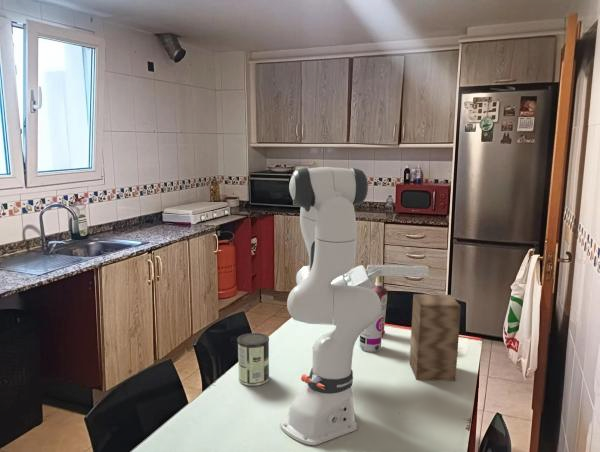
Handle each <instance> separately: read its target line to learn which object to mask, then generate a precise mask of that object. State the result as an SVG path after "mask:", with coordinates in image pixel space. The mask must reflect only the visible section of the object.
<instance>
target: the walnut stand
mask: <svg viewBox="0 0 600 452" xmlns="http://www.w3.org/2000/svg"><path fill="white" fill-rule="evenodd" d="M412 295H413V298H412V310H411V311H412V313H411V315H412V316H411V317H412V318H411V328H410V329H411V330H410V332H411V333H410V346H409V347H410V351H409V366H410V368H411V370H412V374H413V376H414V377H415V380H418V381H445V382H446V381H448V382H449V381H450V382H452V381H453V382H456V381H457V380H456V377H457V363H458V349H459V337H460V336H459V335H460V323H461V308H462V307H461V304H459V302H458V301H457V300H456V299H455V298H454V297H453V296H452V295H451V294H426V293H424V294H422V293H421V294H420V293H419V294H418V293H413V294H412Z"/></svg>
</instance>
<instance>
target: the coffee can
mask: <svg viewBox="0 0 600 452" xmlns="http://www.w3.org/2000/svg"><path fill="white" fill-rule="evenodd" d="M269 342H270V337H269V336H268V335H267V334H265V333H259V332H249V333H245V334H241V335H240V336H238V337H237V358H238V359H237V360H238V382H239V383H240V384H242V385H245V386H250V387H253V386H255V387H256V386H261V385H264V384H267V382H269V381H270V364H269V363H270V357H269V355H270V353H269V351H270V347H269V345H270V343H269Z"/></svg>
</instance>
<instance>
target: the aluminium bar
mask: <svg viewBox="0 0 600 452" xmlns="http://www.w3.org/2000/svg"><path fill="white" fill-rule="evenodd" d="M378 268H380V269H381V271H382V274H381V275H379V276H382V277H420V278H423V277H425V278H427V277H429V271H430V267H428V266H427V265H409V264H408V265H405V264H402V265H401V264H399V265H398V264H397V265H395V264H367V265H366V269H367V275H368V274H370V273H372V272H374V271H375V270H376V269H378Z"/></svg>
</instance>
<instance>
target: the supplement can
mask: <svg viewBox="0 0 600 452" xmlns="http://www.w3.org/2000/svg"><path fill="white" fill-rule="evenodd" d="M382 336H383V335H382V313H381V311H380V315H379V317H378V319H377V320H376V321H375V322H374V323H373V324H372V325H370V326H368V327H367V328H366V329H365V330H364V331H363V332H362V333H361V334H360V335H359V345H358V346H359V347H360V349H361V350H362V351H364V352H368V353H374V352H375V353H377V352H378V351H379V350H380V349H382Z"/></svg>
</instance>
